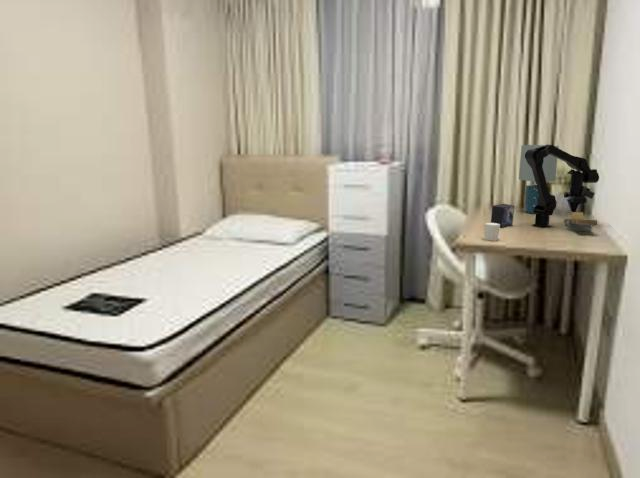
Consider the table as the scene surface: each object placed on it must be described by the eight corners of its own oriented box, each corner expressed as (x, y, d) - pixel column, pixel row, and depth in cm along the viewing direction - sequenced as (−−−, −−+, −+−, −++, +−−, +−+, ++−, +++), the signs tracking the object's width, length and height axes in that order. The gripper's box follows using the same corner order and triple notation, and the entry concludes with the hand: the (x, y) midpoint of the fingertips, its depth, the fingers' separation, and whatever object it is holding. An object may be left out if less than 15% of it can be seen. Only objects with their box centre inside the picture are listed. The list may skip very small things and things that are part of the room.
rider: (582, 221, 263) (583, 212, 263) (571, 221, 264) (572, 212, 264) (578, 221, 270) (579, 212, 270) (568, 221, 271) (568, 212, 271)
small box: (501, 228, 264) (503, 207, 262) (489, 226, 269) (491, 205, 267) (513, 225, 271) (515, 205, 268) (501, 223, 276) (503, 203, 273)
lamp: (519, 214, 301) (525, 146, 293) (512, 209, 320) (518, 144, 311) (556, 215, 298) (563, 146, 290) (546, 210, 317) (553, 145, 309)
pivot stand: (599, 236, 247) (600, 226, 246) (572, 234, 249) (573, 225, 248) (584, 225, 271) (585, 216, 270) (560, 224, 273) (561, 215, 272)
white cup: (488, 241, 235) (489, 225, 234) (479, 238, 242) (480, 222, 240) (502, 240, 237) (503, 224, 236) (493, 237, 244) (494, 222, 242)
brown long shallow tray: (597, 225, 246) (597, 220, 246) (577, 224, 248) (577, 219, 247) (581, 223, 271) (581, 219, 271) (563, 223, 273) (563, 218, 273)
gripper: (599, 186, 258) (596, 218, 261) (588, 181, 276) (585, 211, 279) (575, 185, 260) (571, 217, 263) (565, 180, 277) (562, 210, 281)
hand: (573, 214), depth 272 cm, fingers closed
